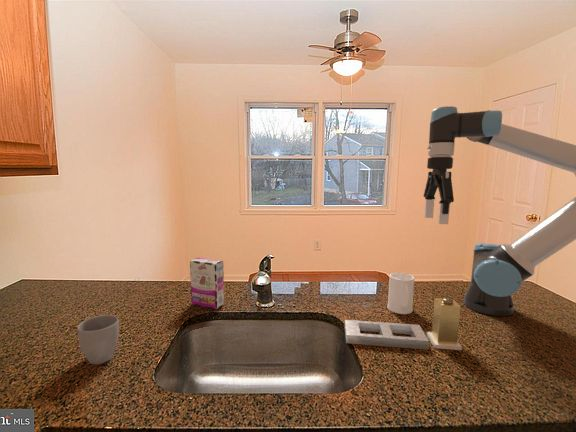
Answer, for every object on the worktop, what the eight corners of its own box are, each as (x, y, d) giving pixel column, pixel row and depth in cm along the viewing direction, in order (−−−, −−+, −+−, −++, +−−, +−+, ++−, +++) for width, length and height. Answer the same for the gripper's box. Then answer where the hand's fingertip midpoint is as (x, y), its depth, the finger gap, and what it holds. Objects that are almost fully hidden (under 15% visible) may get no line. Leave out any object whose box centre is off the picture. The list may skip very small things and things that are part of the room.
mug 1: (112, 367, 75) (109, 330, 73) (73, 370, 73) (69, 332, 72) (130, 340, 86) (128, 308, 85) (96, 342, 85) (93, 310, 84)
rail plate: (418, 332, 92) (419, 324, 92) (428, 349, 83) (429, 341, 83) (344, 327, 95) (344, 319, 95) (346, 343, 86) (346, 334, 86)
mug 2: (417, 319, 100) (420, 284, 99) (390, 317, 102) (393, 283, 100) (409, 304, 112) (411, 273, 110) (385, 302, 113) (387, 271, 112)
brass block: (449, 335, 89) (453, 296, 88) (456, 344, 84) (460, 303, 83) (431, 333, 90) (434, 295, 88) (437, 343, 85) (441, 302, 83)
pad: (451, 336, 90) (452, 333, 90) (461, 350, 83) (462, 346, 83) (426, 334, 91) (427, 331, 91) (434, 348, 84) (435, 344, 84)
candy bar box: (225, 304, 111) (224, 260, 108) (216, 310, 106) (215, 264, 104) (199, 299, 115) (198, 256, 112) (190, 304, 110) (189, 260, 108)
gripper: (417, 158, 113) (413, 215, 116) (442, 154, 89) (437, 226, 92) (438, 158, 113) (433, 215, 116) (470, 154, 88) (463, 227, 91)
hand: (435, 220), depth 104 cm, fingers open, 13 cm apart
